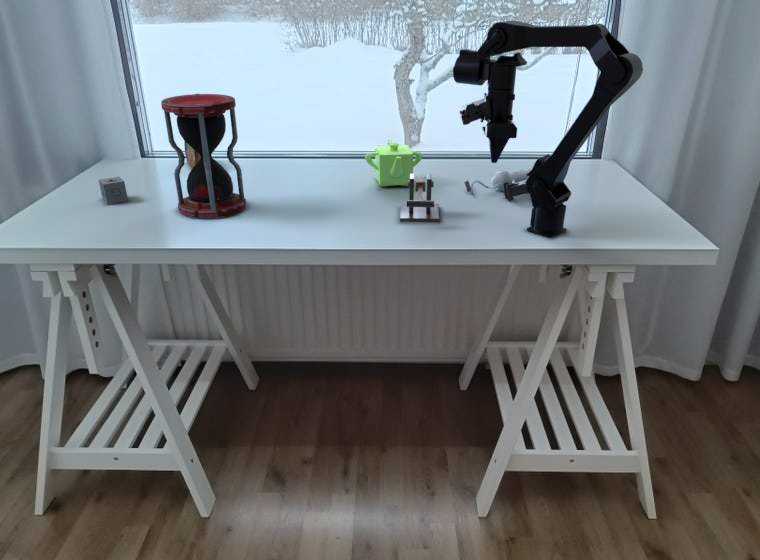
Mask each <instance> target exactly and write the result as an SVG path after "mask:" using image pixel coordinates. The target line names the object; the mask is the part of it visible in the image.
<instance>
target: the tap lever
mask: <svg viewBox="0 0 760 560" xmlns="http://www.w3.org/2000/svg"><path fill="white" fill-rule="evenodd" d="M415 192H416V193H417V199H416V200H415V199H414V200H409V199H408V200H406V203H407V207H434V204H435V201H434V200H431V201H426V200H424V193H426V176H415Z"/></svg>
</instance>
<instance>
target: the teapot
mask: <svg viewBox="0 0 760 560" xmlns="http://www.w3.org/2000/svg"><path fill="white" fill-rule="evenodd" d="M414 156H415V159H414ZM373 157H374V161H373V160H372V158H373ZM364 160H365V161H366V163H367V164H368V165H369V166H370V167H372V168H373V169H374V170H375V174H374V175H375V177H376V180H377V182H378V186H380V187H384V188H385V187H386V188H387V187H390V186H401V187H407V184H408V181H410V174H414V168H415V167H416V166H417V165H418V164H419V163H420V162H421V161H422V160H423V153H421V152H419V151H414V150H411V148H410V147H409V145H408V144H399V143H398V142H393V141H392V140H390V139H389V140H387V145H375V146H374V151H373V152H369V153H366V155H365V156H364Z"/></svg>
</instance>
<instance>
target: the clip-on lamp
mask: <svg viewBox="0 0 760 560" xmlns="http://www.w3.org/2000/svg"><path fill="white" fill-rule="evenodd" d="M531 170H532V169H530V168H527V169H521V170H514V171H509V172H508V171H506V170H502V169H501V170H498V171H496V172H495V175H494V176H493V177H492V178H491V184H492V186H488V185H485V184H484V183H483V182H481V181H480V180H474V181H473V182H472V183H471V184H470V182H469V180H468V179H465V180H464V186H465V188H466V191H467V192H468V193H469V194H473V189H474V184H475V183H478V184H480V185H481V186H482V187H483V188H486V189H489V190H494V189H497V190H498V191H501V192H503V193H504V199H506V200H508V201H509V202H511V201H513V200H514V197H518V196H523V195H527V194H529V193H528V191H527V188H526V181H527V178H528V177H529V176H527V175H526V174H528V173H529V172H530V171H531Z"/></svg>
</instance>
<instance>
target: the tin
mask: <svg viewBox="0 0 760 560" xmlns="http://www.w3.org/2000/svg"><path fill="white" fill-rule="evenodd" d="M183 142H184V143H183V144H184V153H185V154H184V155H185V160H186V163H187V165H188V166H189V167H190V168H191V169H192V168H193V167H194V166H195V164H196V163H197V162H198V161H199V159H200V154H199V153H197V152H196V151H195V150H194V149H193V148H192V147H190V146H189V145H188V144H187V143H186V142H185V141H184V140H183Z"/></svg>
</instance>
